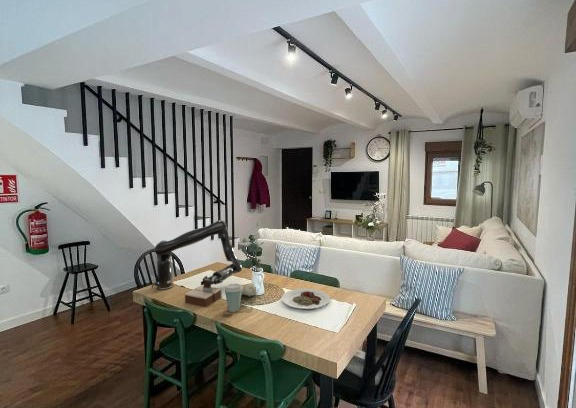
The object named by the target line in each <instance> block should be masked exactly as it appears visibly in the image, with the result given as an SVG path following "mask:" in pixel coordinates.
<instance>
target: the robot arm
mask: <svg viewBox="0 0 576 408" xmlns="http://www.w3.org/2000/svg"><path fill="white" fill-rule="evenodd" d="M216 235H218V237H219V239H220V242H221V247H222V250H223V254H224V257H225V260H226V261H227V262H230V264H228V265H226V266H225V267H223V268H220V269H218V270H217V271H214V272H213V273H212V275H210V276H207V275H205V276H204V277H203V278H202V281H200V286H201V285H202V286H204V282H203V280H204V279H211V281H209V282H207V286H210V285H211V286H212V285H219V284H222V283H223V282H224V281H226V280H227V279H228V278H230V277H232V275H234V274H237V273H241V272H242V270H243V266H242V263H241V261H240V260H239V259H238V257H237V256H236V252H235V250H234V247H233V244H232V242H231V239H230V235H229V232H228V224H227V222H226V221H225V220H217V221H215V222H213V223H211V224H208V225H207V226H204V227H199V228H195V229H192V230H189V231H187V232H185V233H182V234H179V236H176V237H175V238H173V239H171V240H160V241H159V242H158V243H157V244H156V245H155V246H154V253H155V255H157V260H156V271H157V274H156V276H155V277H156V281H155V282H154V283H152V285H151V288H153V287H156V289H158V290H164V291H165V290H169V289H171V288H173V276H172V275H173V274H172V272H173V271H172V252H174V251H176V250H179V249H182V248H186V247H188V246H191V245H194V244H197V243H199V242H202V241H203V240H205V239H208V238H209V237H212V236H216Z"/></svg>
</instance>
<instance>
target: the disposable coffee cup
mask: <svg viewBox="0 0 576 408" xmlns="http://www.w3.org/2000/svg"><path fill="white" fill-rule="evenodd" d="M223 289H224V293H225V294H224V295H225V297H226V298H225V299H226V305H227V310H228V312H229V313H235V312H238V311H239V310H240V308H241V300H242V295H241V294H242V290H243V289H244V287H243V285H242V284H240V283H229V284H226V286H224V288H223Z"/></svg>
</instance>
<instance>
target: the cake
mask: <svg viewBox="0 0 576 408" xmlns="http://www.w3.org/2000/svg"><path fill="white" fill-rule="evenodd" d="M203 286H204V285H201V284H200V285H199V286H197V287H195V288H194V289H191V290H189V291H187V292H186V293H185V292H184V303H185V304H190V305H194V306H199V307H203V308H207V307H208V306H210V305H211V304H213V303H215V302H216V301H218V300H220V299H221V298H222V288H220V287H213V286H211V287H210V288H212V293H208V292H203Z"/></svg>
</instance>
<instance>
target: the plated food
mask: <svg viewBox="0 0 576 408" xmlns="http://www.w3.org/2000/svg"><path fill="white" fill-rule="evenodd" d="M281 301H282V302H283V304H284V305H286V306H288V307H291V308H293V309H294V308H295V309H300V310H301V309H302V310H312V309H317V308H318V309H319V308H322V307H324V306H326V305H327V304H329V303H330V302H331V297H330V295H329V294H328V293H327V292H325V291H323V290H320V289H314V288H296V289H292V290H289V291H286V292H285V293H283V295H282V297H281Z"/></svg>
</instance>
